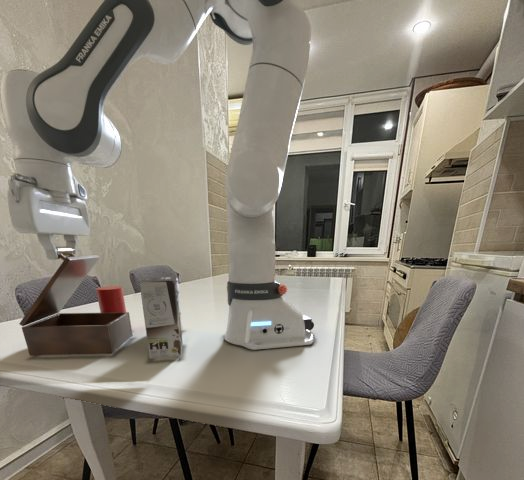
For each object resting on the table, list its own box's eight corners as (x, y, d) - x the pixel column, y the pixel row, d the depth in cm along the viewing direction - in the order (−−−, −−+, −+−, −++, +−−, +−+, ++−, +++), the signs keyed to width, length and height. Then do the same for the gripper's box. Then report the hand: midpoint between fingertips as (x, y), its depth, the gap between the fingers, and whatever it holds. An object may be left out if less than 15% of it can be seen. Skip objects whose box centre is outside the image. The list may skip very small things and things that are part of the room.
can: (132, 329, 81) (125, 286, 77) (124, 336, 75) (116, 289, 71) (110, 330, 80) (102, 286, 76) (100, 336, 75) (91, 289, 71)
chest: (133, 338, 73) (129, 312, 71) (112, 356, 62) (106, 325, 59) (64, 339, 72) (58, 313, 70) (30, 358, 60) (21, 327, 58)
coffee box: (182, 359, 60) (174, 280, 54) (149, 362, 59) (137, 281, 53) (183, 345, 68) (177, 275, 63) (155, 347, 67) (145, 276, 62)
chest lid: (100, 257, 66) (79, 240, 65) (70, 260, 54) (43, 239, 53) (59, 312, 70) (38, 297, 68) (22, 326, 58) (-4, 308, 57)
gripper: (28, 170, 46) (48, 261, 51) (90, 192, 65) (101, 256, 70) (-15, 169, 45) (10, 261, 50) (60, 191, 65) (73, 256, 69)
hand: (63, 258), depth 60 cm, fingers closed on chest lid, 5 cm apart
